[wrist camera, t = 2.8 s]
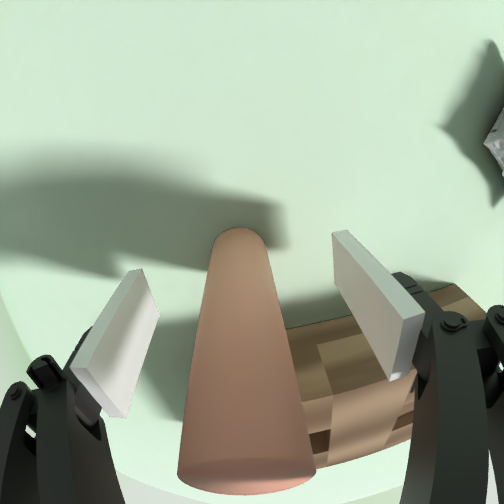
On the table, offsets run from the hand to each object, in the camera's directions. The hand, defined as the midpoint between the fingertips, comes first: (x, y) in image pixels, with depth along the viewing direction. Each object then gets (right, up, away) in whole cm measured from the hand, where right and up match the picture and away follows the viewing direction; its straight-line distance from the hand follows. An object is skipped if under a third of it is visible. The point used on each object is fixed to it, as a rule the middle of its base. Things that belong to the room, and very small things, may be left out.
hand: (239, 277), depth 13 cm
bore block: (+8, -9, +7) cm, 14 cm away
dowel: (0, +1, +2) cm, 3 cm away
